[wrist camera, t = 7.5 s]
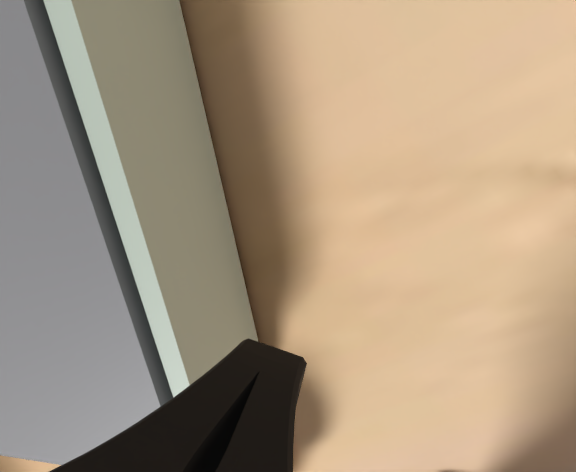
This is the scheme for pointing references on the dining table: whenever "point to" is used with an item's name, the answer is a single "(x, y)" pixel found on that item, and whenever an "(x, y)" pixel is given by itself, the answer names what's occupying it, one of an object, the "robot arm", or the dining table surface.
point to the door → (158, 174)
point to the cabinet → (61, 267)
